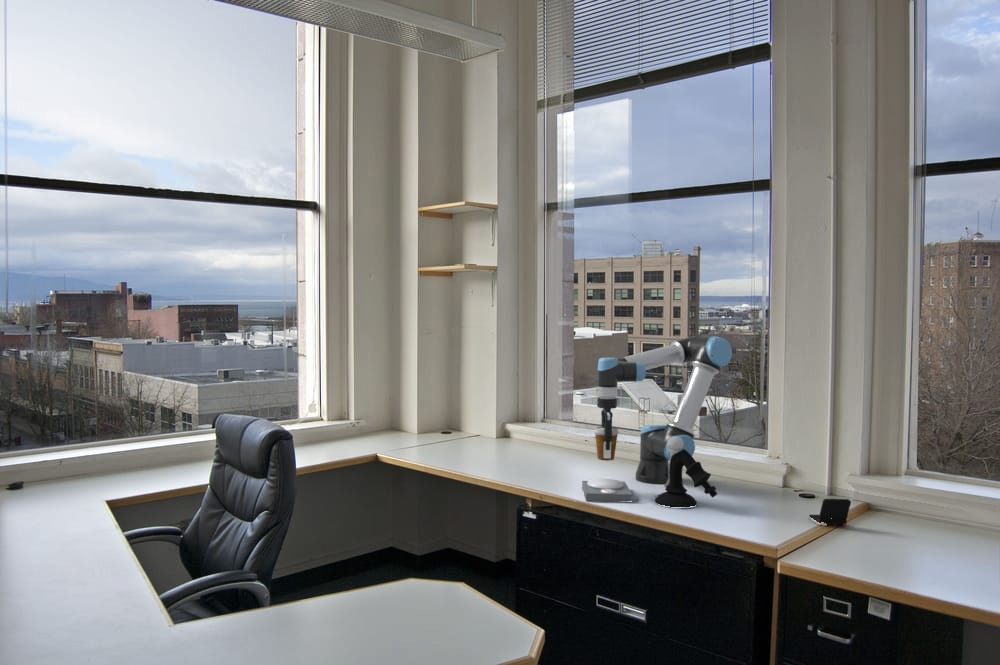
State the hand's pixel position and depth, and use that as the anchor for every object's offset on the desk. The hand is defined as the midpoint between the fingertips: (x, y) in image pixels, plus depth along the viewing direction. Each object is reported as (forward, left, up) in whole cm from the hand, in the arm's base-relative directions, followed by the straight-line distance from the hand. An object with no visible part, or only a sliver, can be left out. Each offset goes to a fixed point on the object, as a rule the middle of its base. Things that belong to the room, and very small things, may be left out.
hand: (605, 455), depth 291 cm
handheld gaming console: (-72, +35, -15) cm, 81 cm away
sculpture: (-28, +15, -15) cm, 35 cm away
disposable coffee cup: (0, 0, -1) cm, 1 cm away
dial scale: (0, +3, -15) cm, 15 cm away
